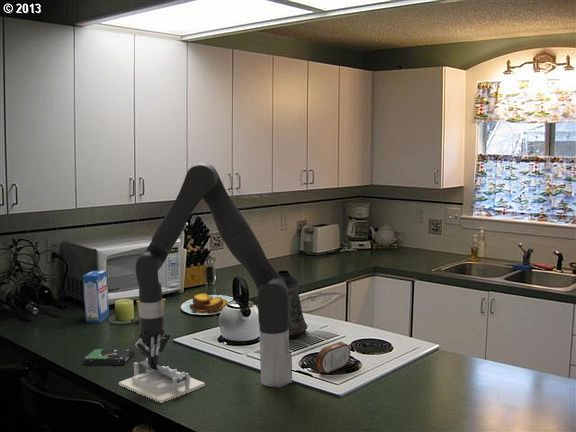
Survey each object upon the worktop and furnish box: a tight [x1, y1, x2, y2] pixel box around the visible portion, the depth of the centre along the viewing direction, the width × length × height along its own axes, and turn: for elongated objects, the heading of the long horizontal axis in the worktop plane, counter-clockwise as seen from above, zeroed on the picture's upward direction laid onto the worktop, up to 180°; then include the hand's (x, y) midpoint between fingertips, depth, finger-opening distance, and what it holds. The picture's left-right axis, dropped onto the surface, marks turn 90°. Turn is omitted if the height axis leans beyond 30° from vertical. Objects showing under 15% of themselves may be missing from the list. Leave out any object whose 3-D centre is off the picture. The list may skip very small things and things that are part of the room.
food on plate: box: [180, 293, 234, 316], centre depth 290 cm, size 25×25×7 cm
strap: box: [137, 359, 186, 383], centre depth 205 cm, size 21×3×1 cm, turn 48°
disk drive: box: [83, 347, 135, 366], centre depth 230 cm, size 10×3×15 cm
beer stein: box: [277, 270, 307, 341], centre depth 250 cm, size 16×19×25 cm
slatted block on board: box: [118, 357, 206, 404], centre depth 205 cm, size 22×17×6 cm
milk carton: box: [82, 270, 110, 323], centre depth 278 cm, size 10×6×20 cm, turn 172°
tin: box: [315, 341, 351, 374], centre depth 215 cm, size 15×3×8 cm, turn 134°
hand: (153, 366), depth 207 cm, fingers closed
